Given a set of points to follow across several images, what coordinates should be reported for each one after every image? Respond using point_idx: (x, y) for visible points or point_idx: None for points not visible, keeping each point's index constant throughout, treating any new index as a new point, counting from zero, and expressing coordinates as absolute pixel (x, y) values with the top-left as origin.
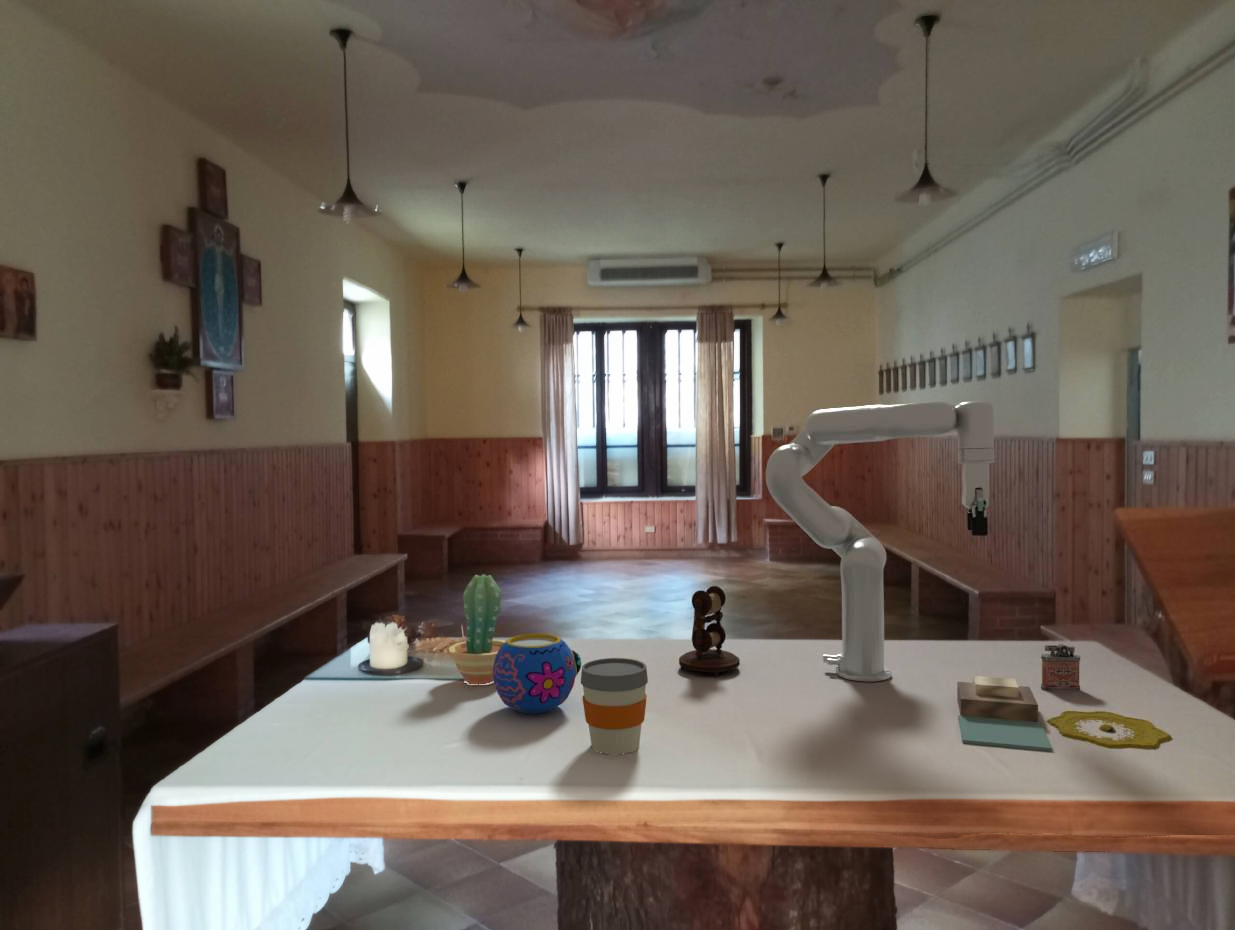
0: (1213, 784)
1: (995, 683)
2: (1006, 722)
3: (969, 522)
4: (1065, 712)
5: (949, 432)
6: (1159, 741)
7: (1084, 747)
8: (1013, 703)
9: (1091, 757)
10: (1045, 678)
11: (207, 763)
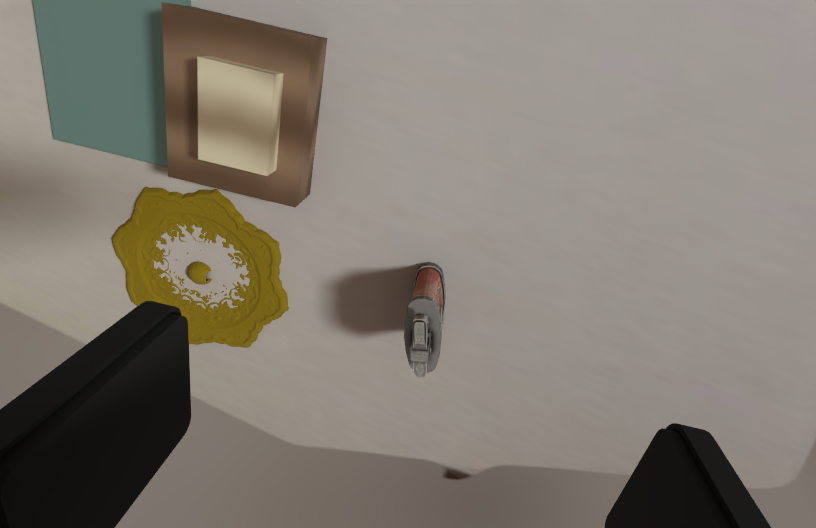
0: (22, 303)
1: (217, 113)
2: None
3: (699, 518)
4: (263, 241)
5: None
6: None
7: (100, 200)
8: (167, 127)
9: (57, 191)
10: (419, 278)
11: None
